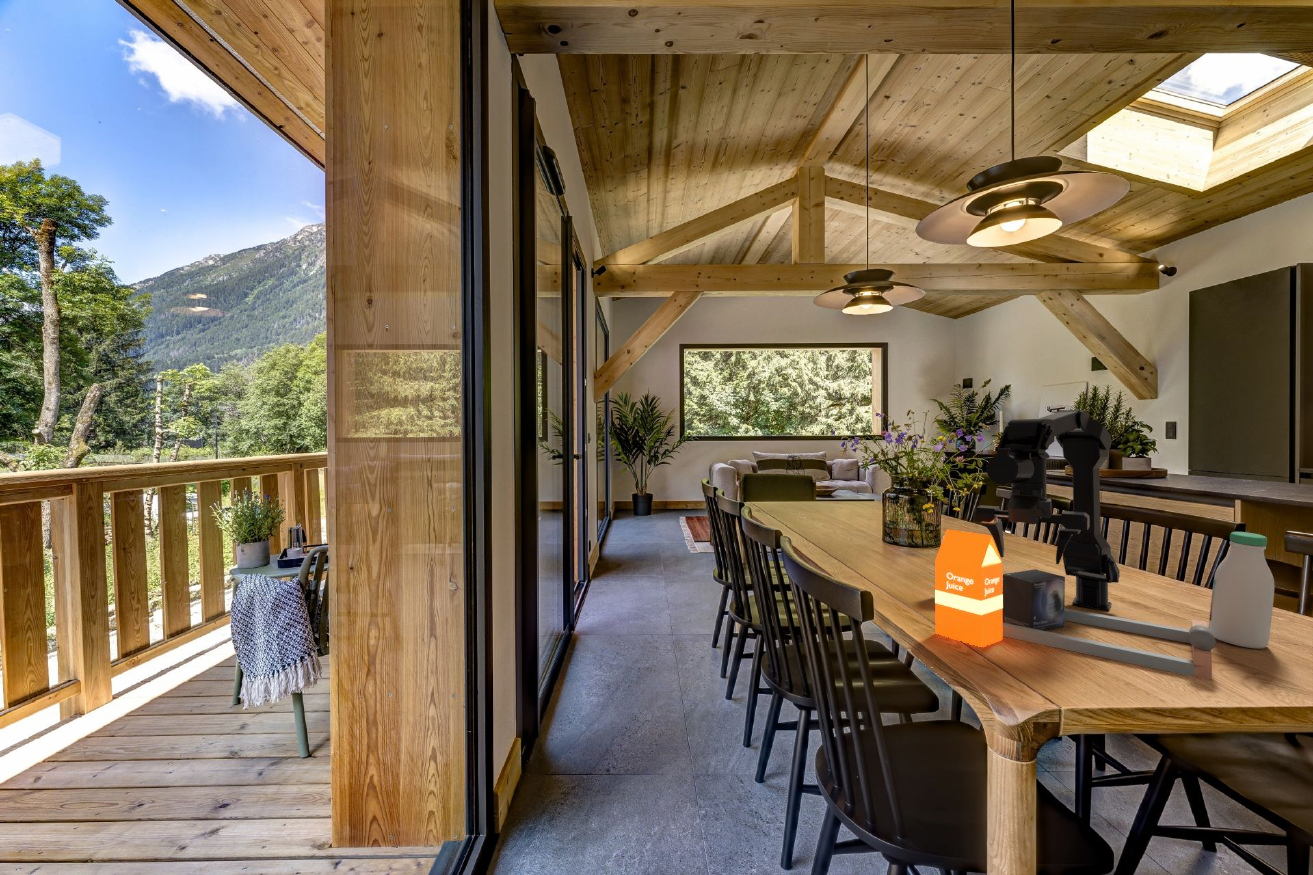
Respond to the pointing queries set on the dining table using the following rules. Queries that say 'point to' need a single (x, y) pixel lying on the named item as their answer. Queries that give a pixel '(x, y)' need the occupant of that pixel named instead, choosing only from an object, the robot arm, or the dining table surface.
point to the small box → (1034, 599)
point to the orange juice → (969, 589)
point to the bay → (1196, 636)
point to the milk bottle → (1243, 593)
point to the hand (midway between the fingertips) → (1029, 560)
